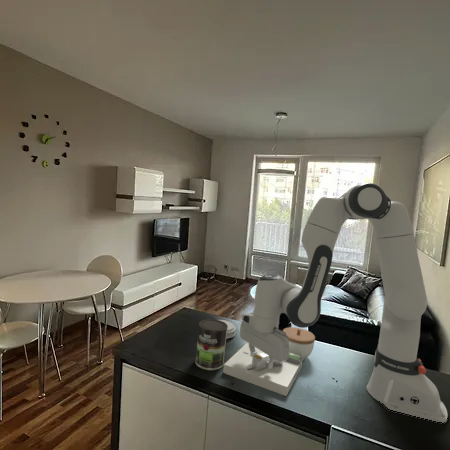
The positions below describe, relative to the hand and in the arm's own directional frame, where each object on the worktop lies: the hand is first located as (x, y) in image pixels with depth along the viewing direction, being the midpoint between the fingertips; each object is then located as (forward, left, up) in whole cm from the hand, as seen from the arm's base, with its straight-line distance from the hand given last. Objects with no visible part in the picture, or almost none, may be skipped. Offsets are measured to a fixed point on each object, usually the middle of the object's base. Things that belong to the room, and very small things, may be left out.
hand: (260, 361), depth 107 cm
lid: (+26, -21, -6) cm, 34 cm away
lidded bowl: (-7, -22, -5) cm, 24 cm away
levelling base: (0, -4, -5) cm, 7 cm away
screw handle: (-2, -3, -2) cm, 4 cm away
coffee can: (+18, +3, -5) cm, 19 cm away
